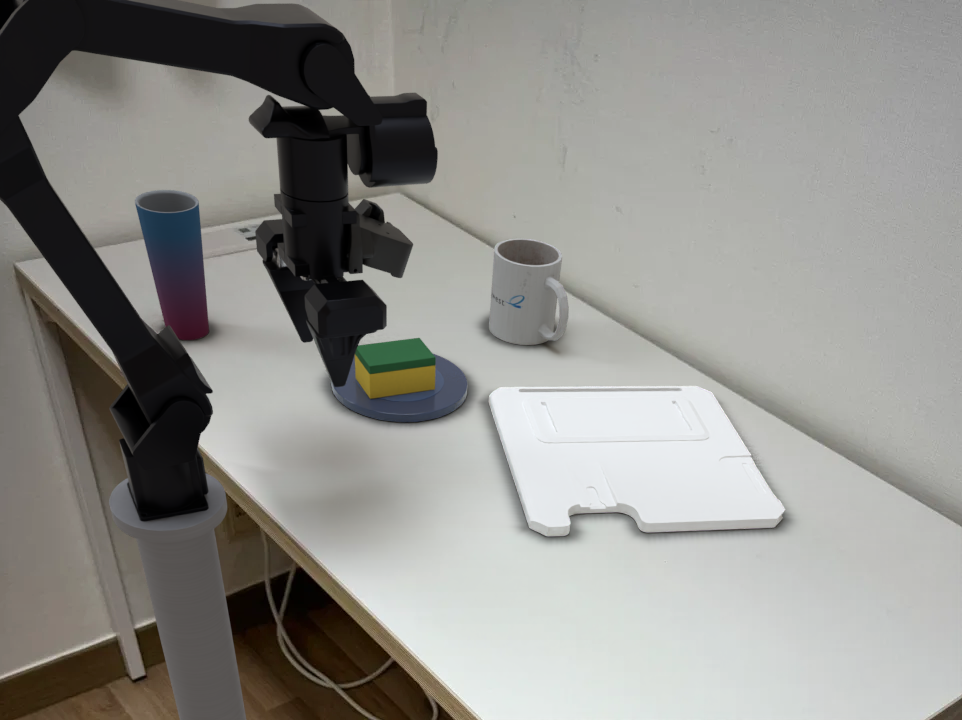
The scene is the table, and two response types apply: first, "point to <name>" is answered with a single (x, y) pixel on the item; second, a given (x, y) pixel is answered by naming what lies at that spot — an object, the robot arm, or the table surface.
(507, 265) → the mug
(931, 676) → the table surface
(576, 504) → the tray
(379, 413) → the plate
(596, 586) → the table surface
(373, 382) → the sponge
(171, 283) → the cup
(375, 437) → the table surface
